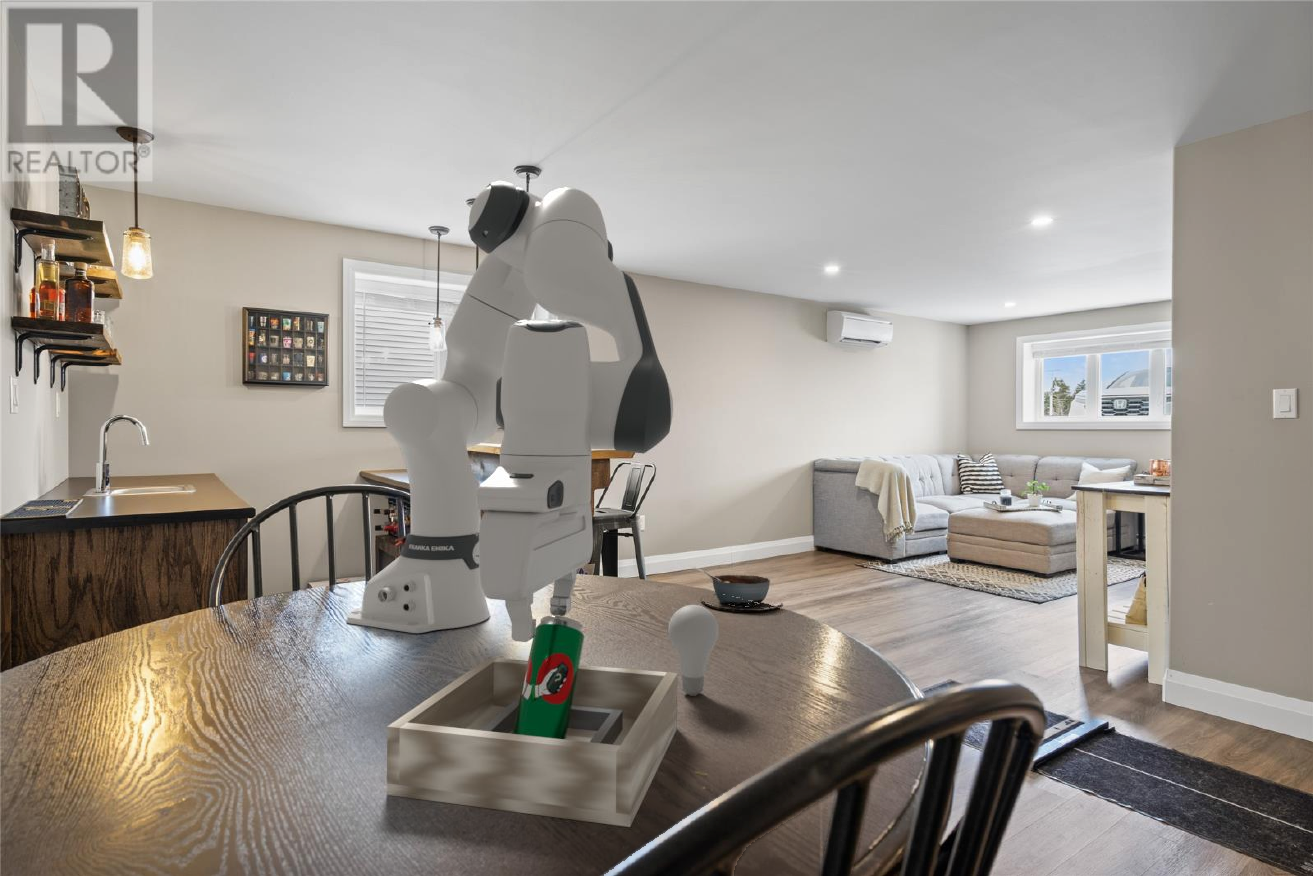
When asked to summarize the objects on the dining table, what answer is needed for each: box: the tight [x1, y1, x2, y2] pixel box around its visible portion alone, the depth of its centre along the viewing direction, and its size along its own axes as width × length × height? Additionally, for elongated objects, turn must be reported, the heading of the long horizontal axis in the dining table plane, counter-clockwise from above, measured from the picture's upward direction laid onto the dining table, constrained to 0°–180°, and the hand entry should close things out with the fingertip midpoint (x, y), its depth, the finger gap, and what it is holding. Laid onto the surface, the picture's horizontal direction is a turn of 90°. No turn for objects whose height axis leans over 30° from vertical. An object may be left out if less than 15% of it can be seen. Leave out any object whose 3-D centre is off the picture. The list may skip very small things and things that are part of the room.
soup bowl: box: [691, 565, 784, 612], centre depth 133 cm, size 15×16×7 cm
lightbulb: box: [667, 604, 720, 697], centre depth 88 cm, size 6×6×11 cm
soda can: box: [512, 615, 585, 740], centre depth 71 cm, size 5×5×12 cm
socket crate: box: [386, 657, 679, 828], centre depth 71 cm, size 22×20×6 cm
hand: (543, 626), depth 71 cm, fingers open, 8 cm apart
